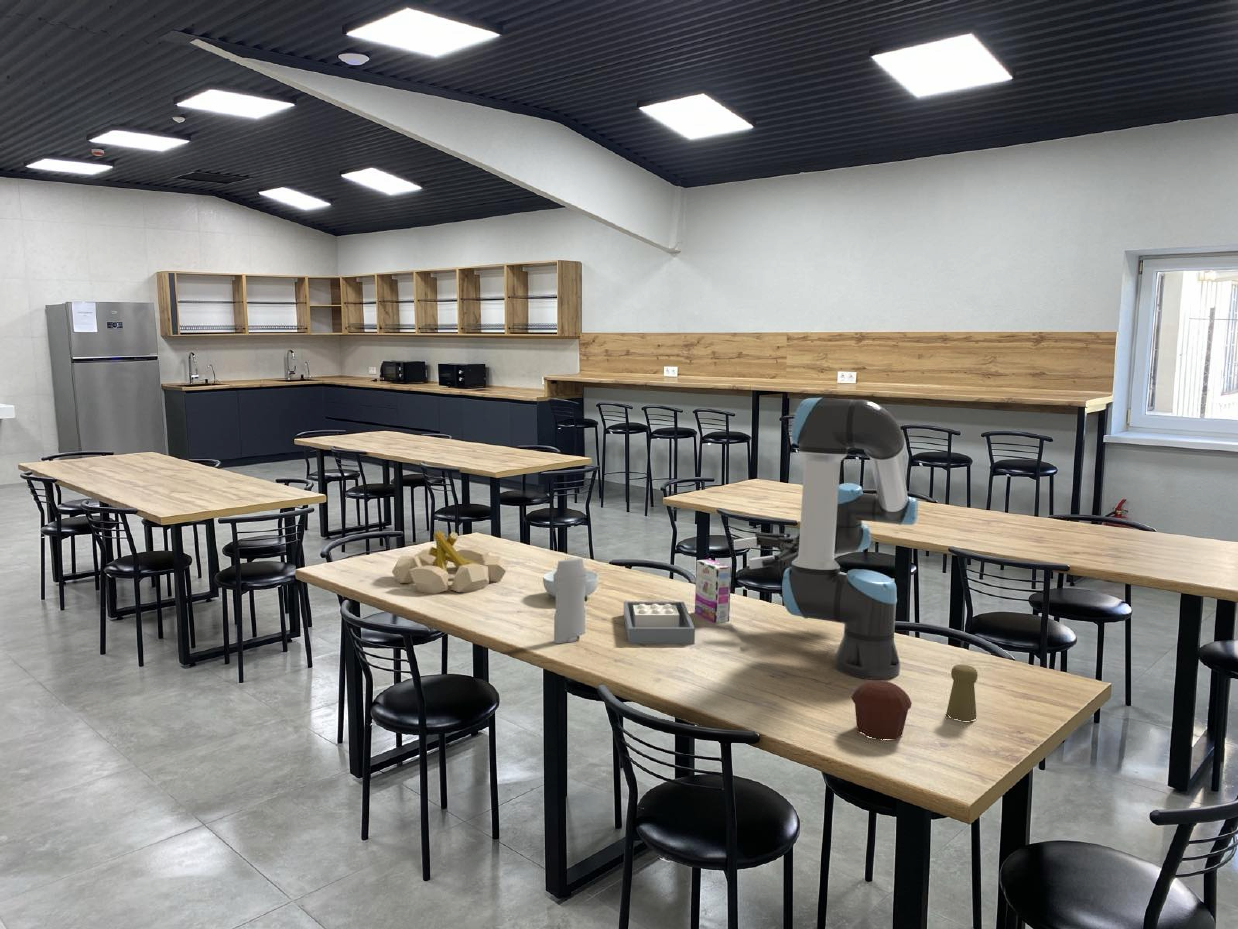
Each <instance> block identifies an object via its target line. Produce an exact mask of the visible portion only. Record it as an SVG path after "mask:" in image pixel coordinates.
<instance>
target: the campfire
mask: <svg viewBox="0 0 1238 929" xmlns="http://www.w3.org/2000/svg"><path fill="white" fill-rule="evenodd" d="M432 536H433V538H434V539H435V544H436V545H435V546H436V547H434V546H430V548H426V549H423V550H421V551H419V552H418V553H416V554H415V555H403V556H400V557H399V559H398V560H397V562H396V564H395V566H394V567H393V568H392V570H391V572H392V574H393V577H395V579H396V581H397V583H399V584H400V583H401V584H412V583H413V584H414V585H415V588H416V590H417V592H418V593H425V594H432V595H433V594H439V593H443V592H445V591H449V590H448V589H449V572H448V571H447V570H448V569H447V565H448V563H449V562H450V563H453V565H454V567H456V569H457V571H456V573H455V575H454V578H453V580H452V584H451V586H450V590H451V591H454V592H458V593H469V592H474V591H477V590H482V589H483V588H485V587H486V586H488V585H489V584H490V583H500V582H501V581H502V579H503V577H504V576H505V574H506V572H507V570H508V565H507V563H506V561H504V559H503V557H502V556H501V555H489V554H490V551H488V550H485V549H482V548H480V547H472V546H468V547H465V548H461V549H459V550H456V549H455V548H454V545H455V543H456V542H457V540H458V539H459V535H458V533H457V532H454V531H451V533H450V534H449V535H448V537H447V538H446V537H445V533H444V532H442V531H441V530H438V531H436V532H435V533H434V534H433V535H432Z"/></svg>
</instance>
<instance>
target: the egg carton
mask: <svg viewBox="0 0 1238 929" xmlns="http://www.w3.org/2000/svg"><path fill="white" fill-rule="evenodd" d="M633 621H634V626H635V627H679V613H678V610H677V608H676V605H671V604H665V605H658V604H652V605H645V604H639V605H633Z"/></svg>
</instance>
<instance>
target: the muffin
mask: <svg viewBox="0 0 1238 929" xmlns="http://www.w3.org/2000/svg"><path fill="white" fill-rule="evenodd" d="M850 700H852V702H853V704H854V710H855V719H856V720H855V723H856V728H857V727H858V728H857V731H859V732H862V733H864V734H865V735H866V736H869V737H872V738H876V739H875V740H877V739H882V740H883V739H896V738H897V737H899V736H901V735H902V736H903V733H904V728H905V724H906V721H907V716H908V711H909V710H910V709H911V708H912V705H913V702H912V701H911V699H910V696H909V695H908V693H907V692H905V690H904V689H902V688H901V687H900V686H898V685H897V684H895V683H892V682H890V681H885V680H871V681H868V682H866V683H863V684H862V683H861V685H859V686H858V687H857V688H856V689H855V690H854V692H853V693H852V695H851V697H850ZM866 736H865V737H866ZM902 736H901V737H902ZM899 738H900V737H899ZM897 739H898V738H897ZM897 739H896V740H897Z"/></svg>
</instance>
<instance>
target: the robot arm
mask: <svg viewBox="0 0 1238 929" xmlns="http://www.w3.org/2000/svg"><path fill="white" fill-rule="evenodd" d="M791 435H792V437H791V440H792V443H793V444H794V445H795V446H798V453H799V454H800V455H801V457H802V458H803V479H802V480H803V481H802V492H801V494H802V496H801V508H800V509H801V510H800V511H801V512H800V513H801V514H800V525H799V526H800V527H799V533H798V535H797V536H796V537H791V533H787V532H786V533H772V532H771V533H770V532H769V533H768V532H755V535H754V537H746V538H739V539H733V550H734V551H735V550H743V549H751V548H758V547H759V546H762V547H769V548H775V549H778V550H779V551H781V552H780V553H779V554H774V556H773V555H767V556H760V557H754V558H749V559H748V560H749V569H750V570H755V569H762V568H768V567H776V568H777V567H778V568H779V570H784V569H785V570H784V572H783V576H782V577H783V578H782V583H781V585H782V587H781V590H782V592H781V593H782V600H783V604H784V607H785V609H786V611H787V612H788V613H789V615H791V616H792V615H793V616H795V617H801V618H802V619H814V620H820V621H826V622H827V621H828V622H832V623H840V624H844V628H843V636H842V638H841V641H840V644H839V646H838V648H837V651H836V652H835V653H836V654H835V658H834V659H835V660H834V666H835V668H836V669H837V670H838V671H840V672H842V673H843V674H846V675H848V674H849V676H852V677H856V678H860V679H866V678H868V679H867V680H887V679H892V678H895V677H896V676H898V675H899V674H900V673H901V672H900V671H901V660H900V658H899V654H898V650H897V646H896V644H895V628H896V627H895V624H896V623H895V622H896V610H897V608H896V607H897V602H898V598H897V585H896V583H895V581H894V580H893V579H892V578H891V577H890V576H888V575H885V574H884V573H880V572H878V571H874V570H869V569H863V568H862V569H858V568H853V569H849V570H848V571H847V573H846V574H843V573H842V574H841V572H840V568H841V567H840V564H839V563H838V562H837V561H836V560H835V555H838V554H844V553H845V554H846V553H855V552H858V551H864V550H866V549H868V548H869V547H870V545H871V543H872V542H871V541H872V536H871V531H870V528H869V527H868V525H867V524H866V523H863V522H874V523H883V524H884V523H885V524H892V525H899V526H903V525H904V526H913V525H915V524H916V522H917V518H918V512H919V502H918V499H917V498H916V497H910V496H908V490H907V483H906V478H905V477H906V476H905V471H904V470H905V469H904V463H903V458H902V457H903V456H902V451H903V449H904V446H905V441H904V434H903V431H902V429H901V427H900V425H899V423H898V422H897V420H896V419H895V417H893V415H892V414H891V413H890V411H888V410H886V409H885V408H884V407H882V406H881V405H879V404H878V403H875V402H873V401H870V400H866V399H849V398H848V399H847V398H845V399H843V398H830V397H829V398H828V397H827V398H826V397H809V398H806V399H804V400H802V401H801V402H800V403H799V405H798V407H797V409H796V411H795V414H794V417H793V422H792V428H791ZM849 449H862V450H864V453H865V454H866V455H867V456H868V457H869V460H870V465H871V470H872V474H873V481H874V485H875V490H876V494H875V493H865V492H863V488H862V486H860V484H857V483H856V484H855V483H854V482H853V483H852V482H845V483H841V484H840V473H841V462H842V461H843V460H844V459H845V458H847V456H848V450H849ZM787 567H788V568H787Z"/></svg>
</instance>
